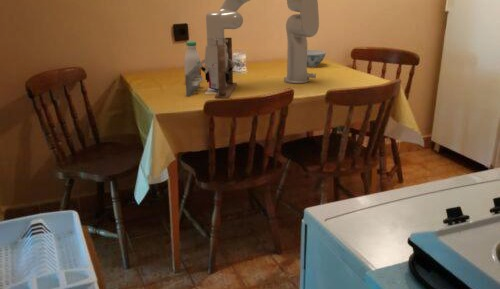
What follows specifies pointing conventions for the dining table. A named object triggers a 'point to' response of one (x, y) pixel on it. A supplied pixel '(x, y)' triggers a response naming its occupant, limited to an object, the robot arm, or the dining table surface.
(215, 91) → the pad
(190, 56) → the milk bottle
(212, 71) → the supplement box
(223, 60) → the gate
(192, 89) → the panel
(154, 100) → the dining table surface
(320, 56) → the chinaware
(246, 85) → the dining table surface
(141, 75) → the dining table surface
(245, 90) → the dining table surface
